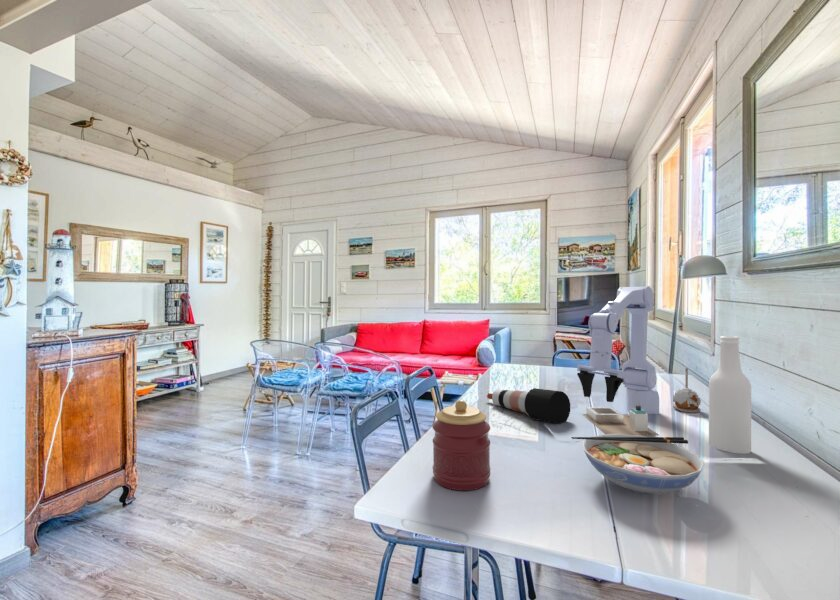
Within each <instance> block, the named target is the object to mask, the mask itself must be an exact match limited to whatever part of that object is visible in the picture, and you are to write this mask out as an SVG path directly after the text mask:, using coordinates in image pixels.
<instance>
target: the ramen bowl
mask: <svg viewBox="0 0 840 600" xmlns="http://www.w3.org/2000/svg"><path fill="white" fill-rule="evenodd" d="M571 440H583V441H582V450H583V452H584V454H585V456H586V457H587V459H588V460H589V463H590V464H591V465H592V466H593V468H594V469H595V470H596V471H597V472H599V474H601V475H602V476H603V477H604V478H606V479H607V480H608V481H610V482H612V483H614V484H616V485H618V486H620V487H621V488H624V489H627V490H629V491H632V492H634V493H638V494H644V495H654V494H655V495H657V494H659V495H660V494H670V493H674V492H677V491H680V490H682V489H685V488H687V487H688V486H690V485H691V484H692V483H694V481H695V480H696V479H697V478H698V477H699V475H700V474H701V472H702V471H703V468H704V465H705V462H704V461H703V460H702V459H701V457H700V456H699V455H698V454H697V453H695V452H693V451H692V450H689V449H687V448H685V447H684V446H681V445H678V444H685V445H686V444H689V440H688V439H685V437H683V436H679V437H678V436H672V437H671V436H669V437H668V436H666V437H662V436H654V437H653V436H645V435H628V434H604V433H603V434H598V435H593V436H589V437H588V436H586V437H585V436H584V437H582V436H581V437H580V436H573V437H572V436H571Z"/></svg>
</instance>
